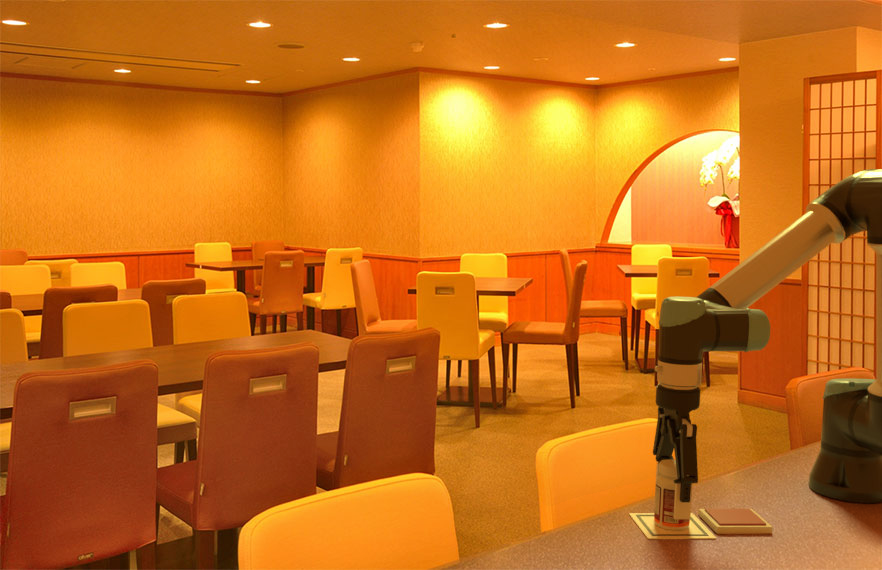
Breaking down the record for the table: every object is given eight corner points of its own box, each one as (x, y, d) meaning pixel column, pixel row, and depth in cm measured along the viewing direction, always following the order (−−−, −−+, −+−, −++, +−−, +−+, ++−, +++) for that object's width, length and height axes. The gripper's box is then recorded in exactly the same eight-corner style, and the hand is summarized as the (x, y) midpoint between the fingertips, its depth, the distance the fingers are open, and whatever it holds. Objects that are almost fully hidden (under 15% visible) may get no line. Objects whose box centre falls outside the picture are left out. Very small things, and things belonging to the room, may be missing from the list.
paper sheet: (692, 514, 167) (692, 512, 167) (716, 539, 155) (716, 537, 155) (628, 514, 166) (628, 512, 166) (648, 539, 155) (648, 537, 154)
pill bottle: (696, 527, 160) (700, 465, 159) (672, 534, 157) (676, 470, 155) (670, 516, 165) (673, 456, 164) (646, 522, 162) (649, 461, 161)
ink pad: (751, 515, 168) (751, 507, 167) (772, 533, 159) (772, 525, 158) (698, 515, 167) (699, 507, 167) (716, 533, 158) (717, 525, 158)
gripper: (639, 371, 169) (633, 487, 171) (678, 399, 147) (671, 531, 149) (678, 372, 170) (672, 487, 172) (723, 400, 147) (715, 531, 150)
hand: (672, 507), depth 161 cm, fingers open, 10 cm apart
